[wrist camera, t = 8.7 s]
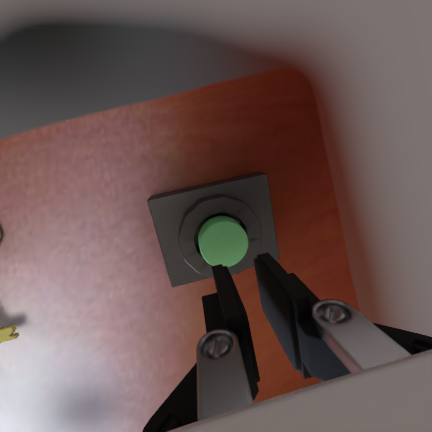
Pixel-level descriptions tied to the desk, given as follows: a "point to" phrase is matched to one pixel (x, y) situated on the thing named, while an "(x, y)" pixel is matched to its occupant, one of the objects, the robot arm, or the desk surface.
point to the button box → (206, 209)
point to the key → (7, 330)
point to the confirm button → (222, 241)
